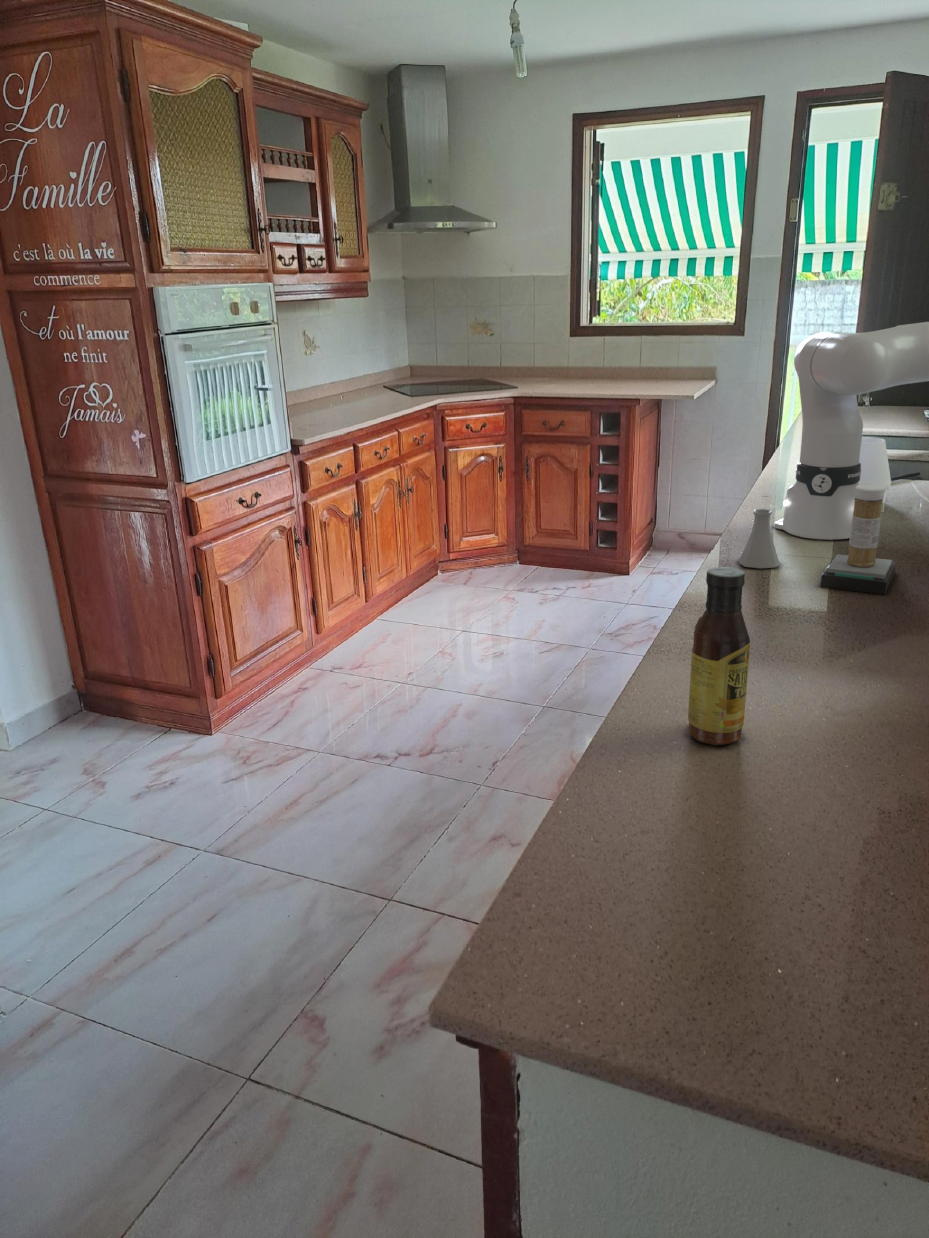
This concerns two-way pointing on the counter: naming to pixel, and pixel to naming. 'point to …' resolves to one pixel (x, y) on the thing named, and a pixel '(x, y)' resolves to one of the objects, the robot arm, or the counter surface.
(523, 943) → the counter surface
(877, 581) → the scale
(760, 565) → the flask
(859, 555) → the sprinkles bottle
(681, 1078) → the counter surface
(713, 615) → the sauce bottle
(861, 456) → the cup
